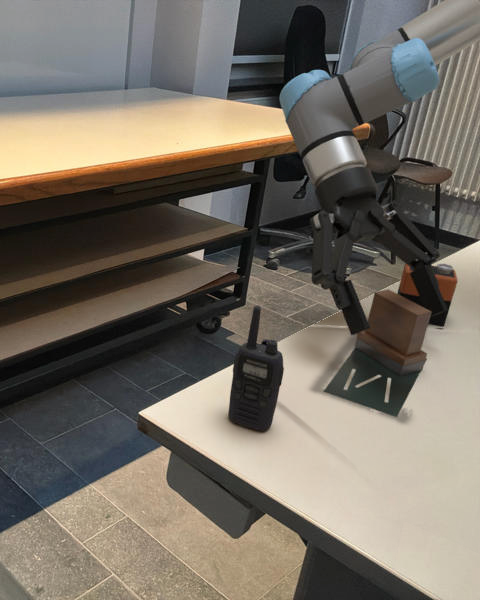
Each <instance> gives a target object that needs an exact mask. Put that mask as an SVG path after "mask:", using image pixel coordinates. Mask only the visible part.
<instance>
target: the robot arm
mask: <svg viewBox="0 0 480 600" xmlns="http://www.w3.org/2000/svg"><path fill="white" fill-rule="evenodd" d="M479 41H480V0H442V1H441V2H439V3H438V4H436V5H434V6H433V7H431V8H430V9H428V10H426V11H425V12H423V13H421V14H419V15H418V16H416V17H415V18H413V19H412V20H410V21H409V22H406V23H405V24H403V25H402V26H400V28H397V29H396V30H394V31H392V32H390V33H389V34H387V35H385V36H384V37H382V38H381V39H379V40H375V41H371V42H369V43H367V44H365V45H364V46H362V47H361V48H360V49H359V50H358V51H357V52H356V53H355V55H354V56H353V58H352V61H351V63H350V68H349V70H348V71H346V72H344V73H342V74H340V75H337V76H334V77H333V78H332V76H330V74H329V73H328V72H327V71H325V70H322V69H313V70H311V71H309V72H307V73H306V72H303V73H301V74H299V75H297V76H295V77H294V78H292V79H290V81H288V82H287V83H286V84H284V87H283V88H282V89H281V92H280V94H279V104H280V107H281V110H282V112H283V113H282V114H283V115H284V118H285V119H284V121H285V123H286V125H287V127H288V129H289V133H290V134H291V137H292V140H293V142H294V144H295V146H296V149H297V151H298V154H299V156H300V158H301V161H302V163H303V166H304V169H305V171H306V173H307V175H308V178H309V180H310V183H311V186H312V187H314V188H315V189H314V194H315V196H316V199H317V201H318V204H319V206H320V209H321V211H319V212H318V213H317V214H315V215H314V216H313V217H311V218H310V219H309V224H310V228H311V230H312V233H313V234H312V259H311V282H312V284H313V285H314V286H318V285H320V287H321V288H322V289H323V290H325V291H327V290H328V289H329V291H330V294H331V296H332V298H333V301H334V304H335V307H336V308H337V310H338V311H341V313H342V315H343V318H344V320H345V323H346V325H347V329H348V331H349V333H350V336H354V335H357V334H358V333H359V332H362V331H364V330H366V329H369V328H370V326H369V323H368V318H367V316H366V314H365V312H364V309H363V306H362V303H361V301H360V299H359V296H358V293H357V291H356V288H355V286H354V284H353V282H352V280H351V279H346V280H345V277H346V274H347V270H348V267H349V263H350V259H351V255H352V251H353V248H354V244H357V243H358V242H369V241H372V242H373V243H376V244H377V243H378V244H380V245H381V246H383V247H384V248H386V249H387V250H388V251H389V252H390V253H392V254H393V255H395V256H396V257H397V258H398V259H399V260H401V261H402V262H403V263H404V264H405V263H406V264H407V265H408V266H410V267H411V268H412V269H414V270H415V271H413V272H411V273H410V275H411V278H412V280H413V282H414V285H415V287H416V289H417V292H418V294H419V296H420V299H421V301H422V303H423V306H424V308H426V309H427V310H429V311H431V312H432V313H431V316H430V317H432V316H435V315H437V314H439V313H442V312H444V311H447V310H448V308H447V306H446V304H445V301H444V299H443V297H442V294H441V292H440V290H439V288H438V287H439V283H438V280H437V278H436V277H435V274H434V271H433V269H432V267H431V265H432V264H433V263H436V262H437V259H439V258H440V255H441V254H440V252H439V251H438V249H437V248H436V247H435V246H433V244H432V243H431V242H430V240H428V238H426V236H425V235H424V234H423V233H422V232H421V231H420V230H419V228H417V226H416V225H415V224H414V223H413V222H412V221H411V220H410V218H409V217H408V216H407V215H406V214H405V213H404V211H403V209H402V208H401V205H400V204H399V202H398V201H397V200H395V199H394V200H392V201H390V202H389V203H387V204H385V205H381V204H380V203H379V202H378V200H377V194H378V192H379V187H378V186H377V183H376V181H375V178H374V177H373V174H372V172H371V170H370V168H368V167H366V166H367V164H368V163H367V160H366V157H365V155H364V153H363V150H362V147H361V146H360V143H359V142H358V139H357V137H356V135H355V133H354V131H353V130H354V129H356V128H358V127H360V126H363V125H365V124H367V123H369V122H371V121H373V120H375V119H378V118H379V117H382V116H384V115H386V114H389V113H391V112H393V111H395V110H397V109H400V108H401V107H404V106H406V105H408V104H411V103H415V102H417V101H418V100H419V99H421V98H422V97H424V96H426V95H427V94H430V93H432V92H433V91H436V89H437V88H438V87H439V86H440V75H439V71H438V68H437V65H439V64H441V63H443V62H445V61H446V60H448V59H449V58H451V57H453V56H455V55H457V54H458V53H460V52H462V51H463V50H466V49H467V48H470V46H472V45H475V44H476V43H478V42H479ZM333 230H335V231H336V233H335V237H334V240H333ZM333 245H334V246H333Z"/></svg>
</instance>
